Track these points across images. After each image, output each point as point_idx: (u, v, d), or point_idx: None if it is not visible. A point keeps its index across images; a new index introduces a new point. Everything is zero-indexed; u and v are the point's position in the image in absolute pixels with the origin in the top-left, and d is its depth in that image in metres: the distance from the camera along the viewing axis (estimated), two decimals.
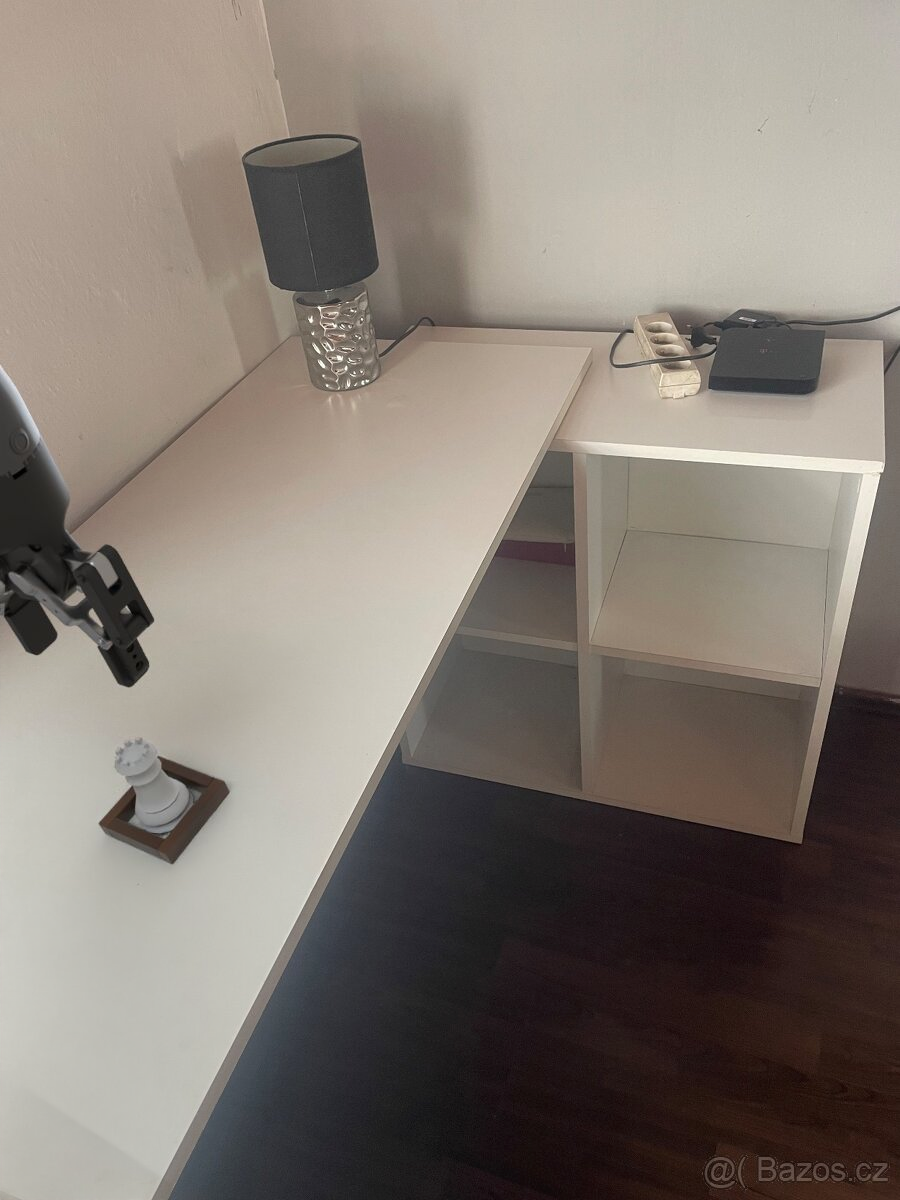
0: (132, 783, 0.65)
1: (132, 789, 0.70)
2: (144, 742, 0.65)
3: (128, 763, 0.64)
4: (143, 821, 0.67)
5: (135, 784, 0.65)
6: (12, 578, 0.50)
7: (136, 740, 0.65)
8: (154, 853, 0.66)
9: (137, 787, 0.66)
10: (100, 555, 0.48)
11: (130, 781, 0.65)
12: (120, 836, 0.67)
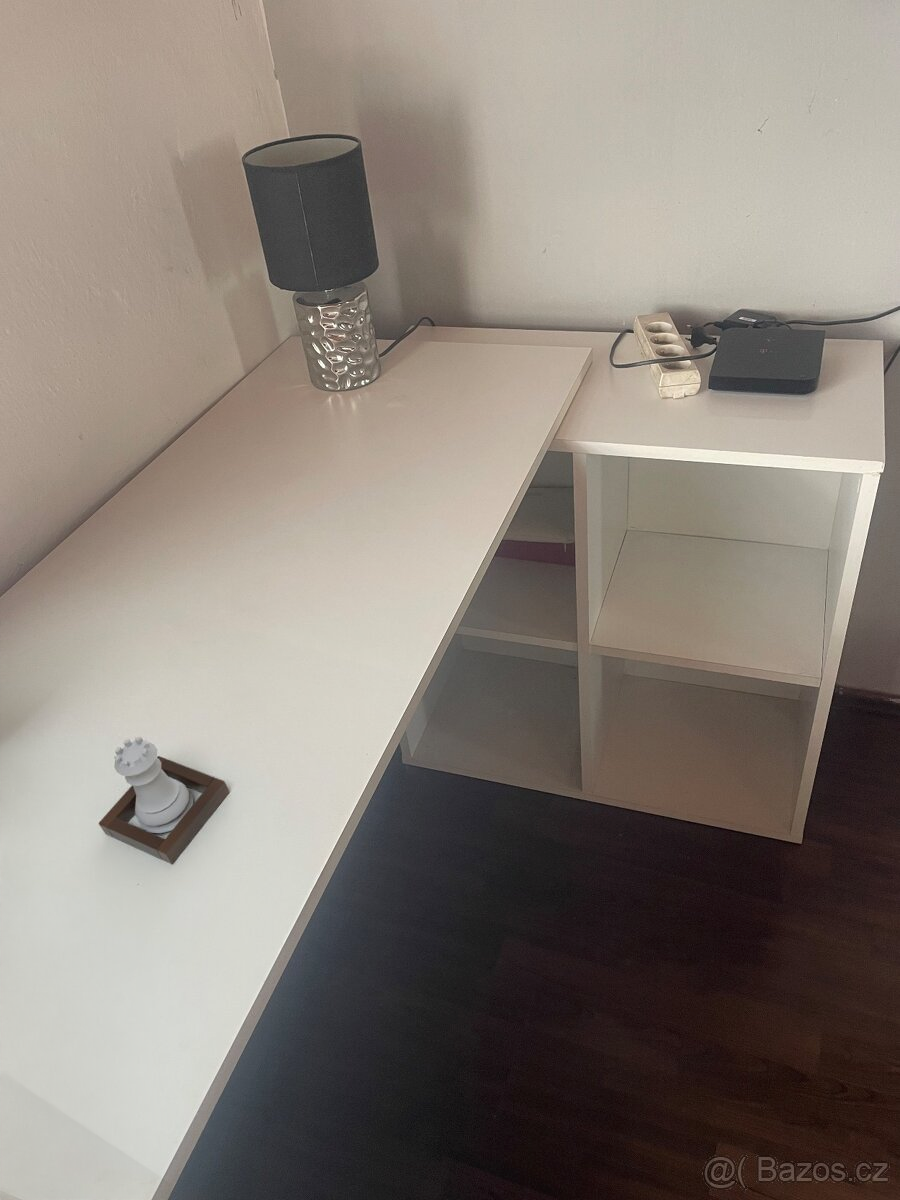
0: (132, 783, 0.65)
1: (132, 789, 0.70)
2: (144, 742, 0.65)
3: (128, 763, 0.64)
4: (143, 821, 0.67)
5: (135, 784, 0.65)
6: None
7: (136, 740, 0.65)
8: (154, 853, 0.66)
9: (137, 787, 0.66)
10: None
11: (130, 781, 0.65)
12: (120, 836, 0.67)
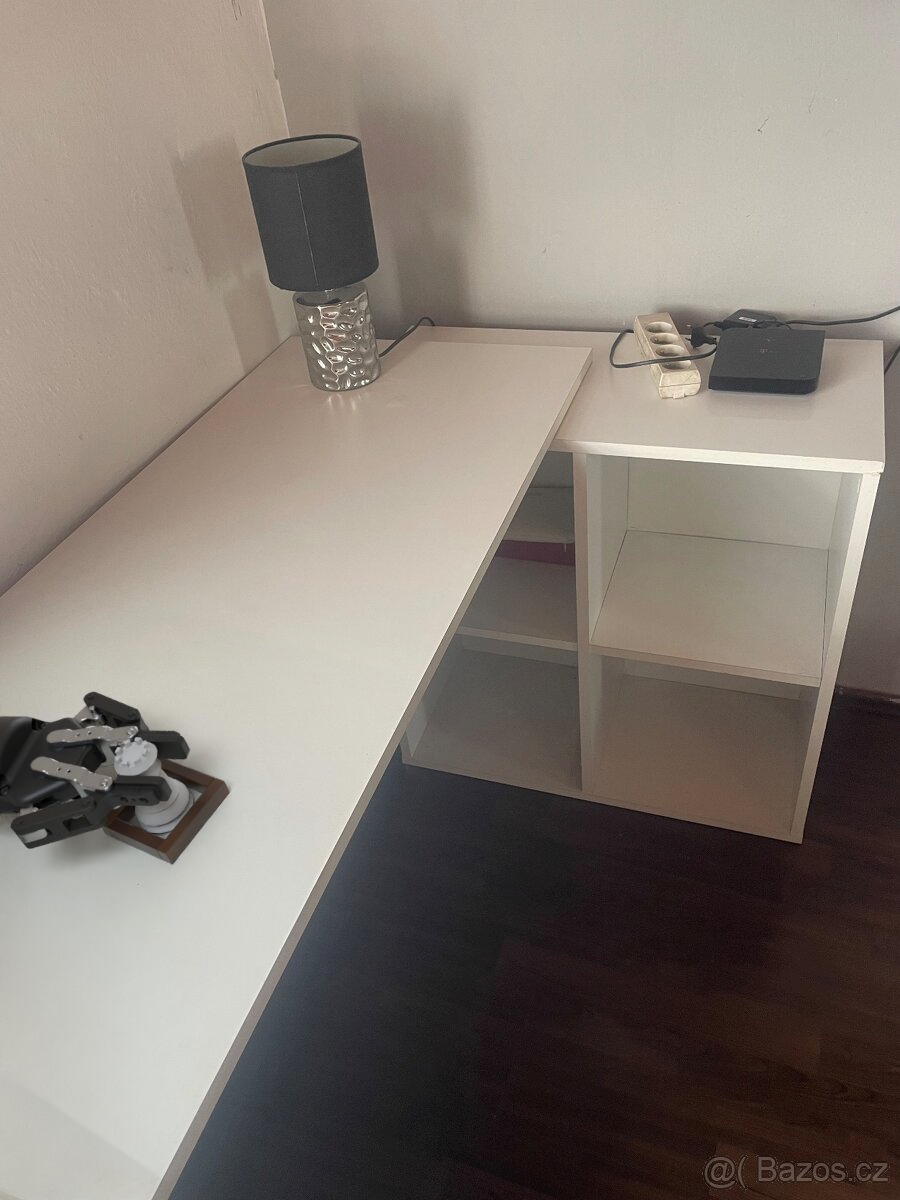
0: None
1: None
2: (144, 742, 0.65)
3: (128, 763, 0.64)
4: (143, 821, 0.67)
5: None
6: (49, 739, 0.67)
7: (136, 740, 0.65)
8: (154, 853, 0.66)
9: None
10: None
11: None
12: (120, 836, 0.67)
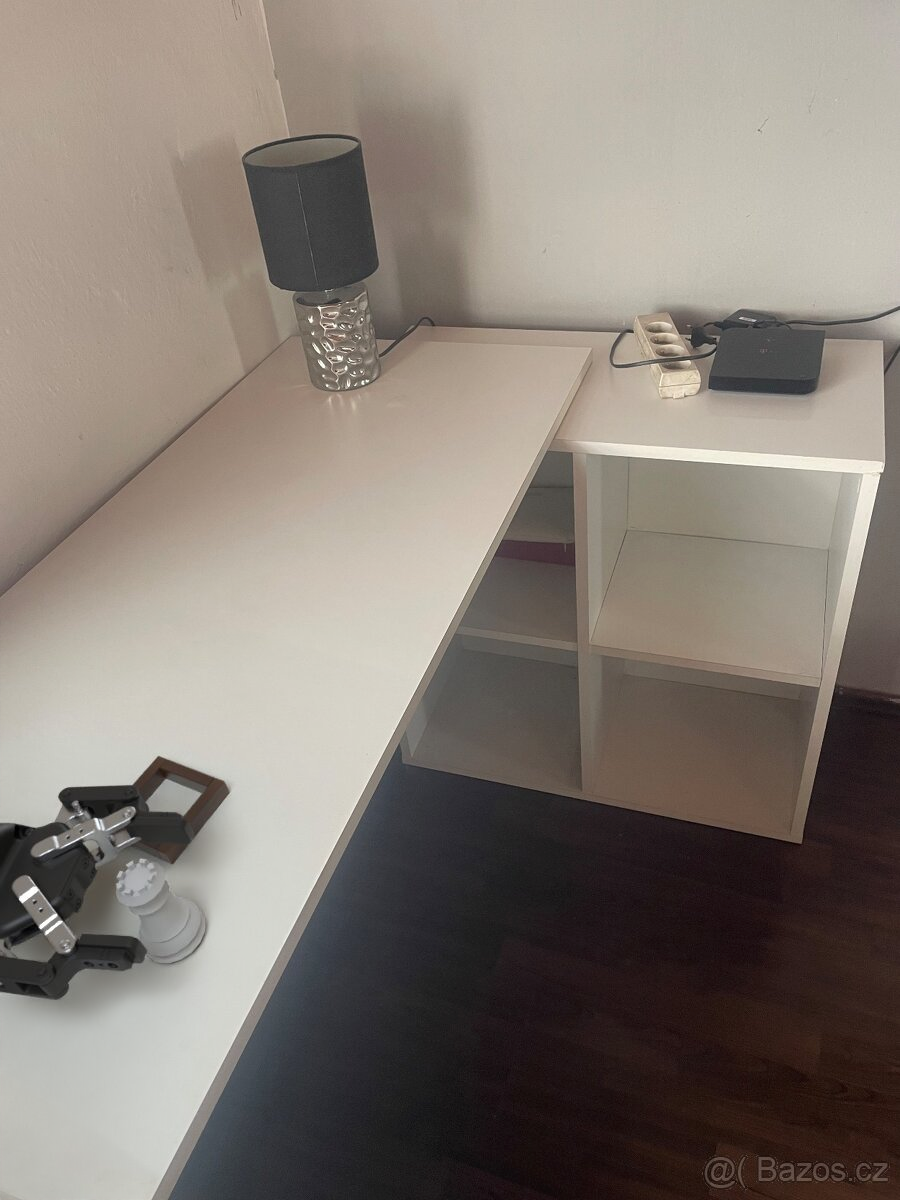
0: (136, 912, 0.57)
1: None
2: (150, 865, 0.57)
3: (132, 891, 0.56)
4: (149, 951, 0.59)
5: (140, 913, 0.57)
6: (36, 853, 0.58)
7: (141, 862, 0.57)
8: (154, 853, 0.66)
9: (142, 915, 0.57)
10: None
11: (134, 909, 0.57)
12: None
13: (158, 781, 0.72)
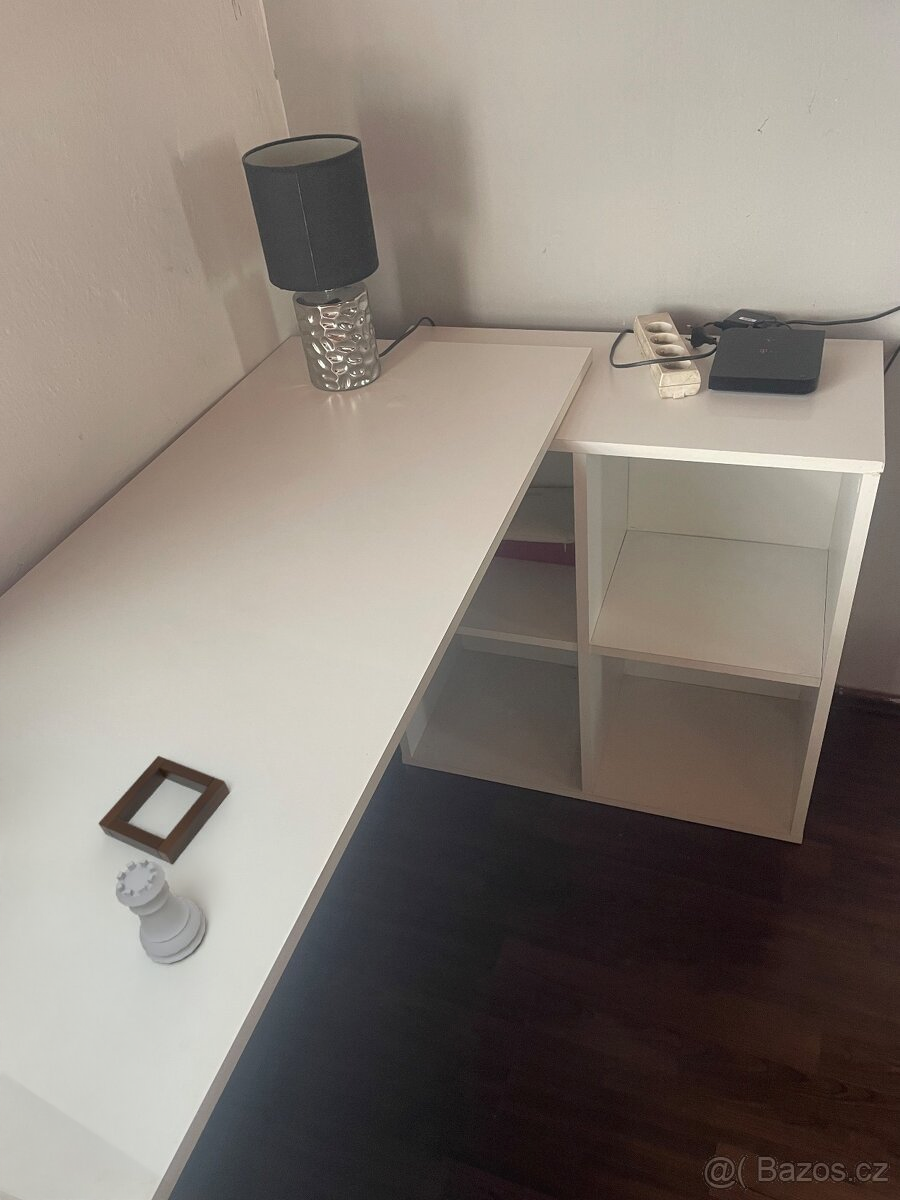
0: (136, 912, 0.57)
1: (132, 789, 0.70)
2: (150, 865, 0.57)
3: (132, 891, 0.56)
4: (149, 951, 0.59)
5: (140, 913, 0.57)
6: None
7: (141, 862, 0.57)
8: (154, 853, 0.66)
9: (142, 915, 0.57)
10: None
11: (134, 909, 0.57)
12: (120, 836, 0.67)
13: (158, 781, 0.72)
